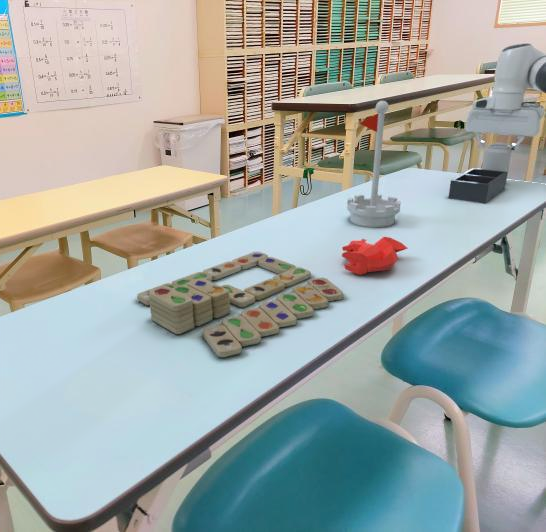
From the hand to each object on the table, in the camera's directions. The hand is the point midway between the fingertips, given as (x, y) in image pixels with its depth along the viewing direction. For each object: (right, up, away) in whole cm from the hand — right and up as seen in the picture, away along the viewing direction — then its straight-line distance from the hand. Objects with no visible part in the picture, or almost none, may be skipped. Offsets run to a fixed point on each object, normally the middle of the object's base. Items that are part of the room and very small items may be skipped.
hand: (497, 148), depth 162 cm
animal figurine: (-56, -36, -53) cm, 85 cm away
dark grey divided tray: (-10, -15, -6) cm, 19 cm away
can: (+1, -10, +4) cm, 11 cm away
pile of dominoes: (-85, -43, -65) cm, 115 cm away
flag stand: (-48, -25, -26) cm, 60 cm away
